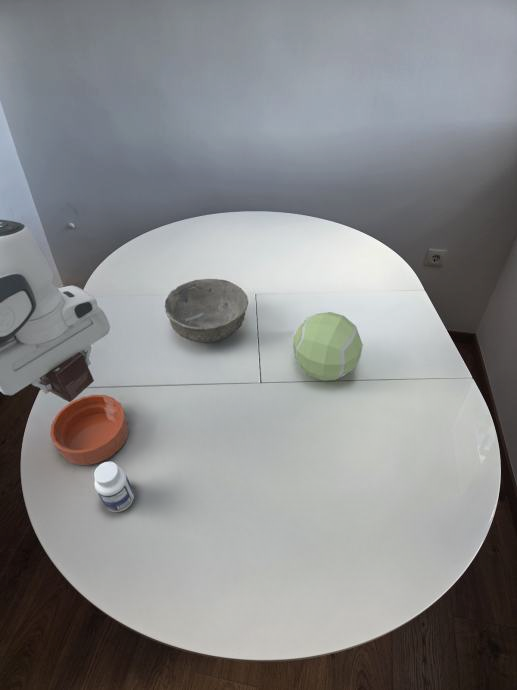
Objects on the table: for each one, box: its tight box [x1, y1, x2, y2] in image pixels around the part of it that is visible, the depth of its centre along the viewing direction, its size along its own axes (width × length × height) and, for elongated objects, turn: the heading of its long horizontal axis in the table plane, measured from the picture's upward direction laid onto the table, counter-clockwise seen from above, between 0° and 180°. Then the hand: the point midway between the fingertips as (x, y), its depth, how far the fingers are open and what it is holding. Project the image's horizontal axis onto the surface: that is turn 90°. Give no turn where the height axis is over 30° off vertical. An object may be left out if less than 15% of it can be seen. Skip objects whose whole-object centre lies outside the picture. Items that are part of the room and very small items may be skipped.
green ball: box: [292, 311, 364, 382], centre depth 98 cm, size 15×15×15 cm
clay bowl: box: [49, 394, 130, 466], centre depth 88 cm, size 14×14×5 cm
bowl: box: [164, 278, 249, 344], centre depth 110 cm, size 21×21×10 cm
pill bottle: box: [93, 461, 135, 513], centre depth 76 cm, size 5×5×10 cm
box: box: [40, 352, 95, 403], centre depth 76 cm, size 6×6×7 cm
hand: (67, 376), depth 77 cm, fingers closed on box, 6 cm apart
